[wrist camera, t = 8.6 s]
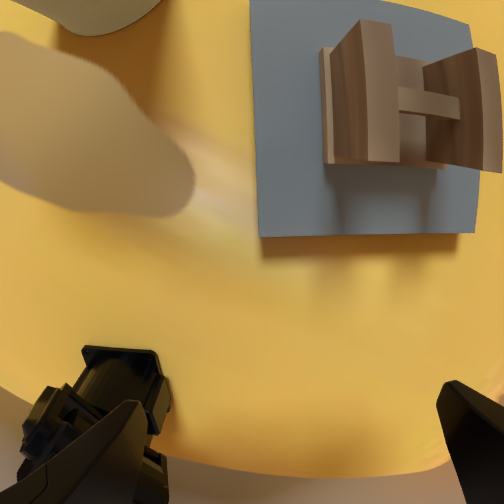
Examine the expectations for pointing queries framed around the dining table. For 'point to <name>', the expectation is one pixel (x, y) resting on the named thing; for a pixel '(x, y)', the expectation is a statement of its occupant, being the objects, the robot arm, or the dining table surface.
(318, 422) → the dining table surface
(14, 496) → the robot arm
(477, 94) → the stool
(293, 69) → the slab
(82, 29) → the can
